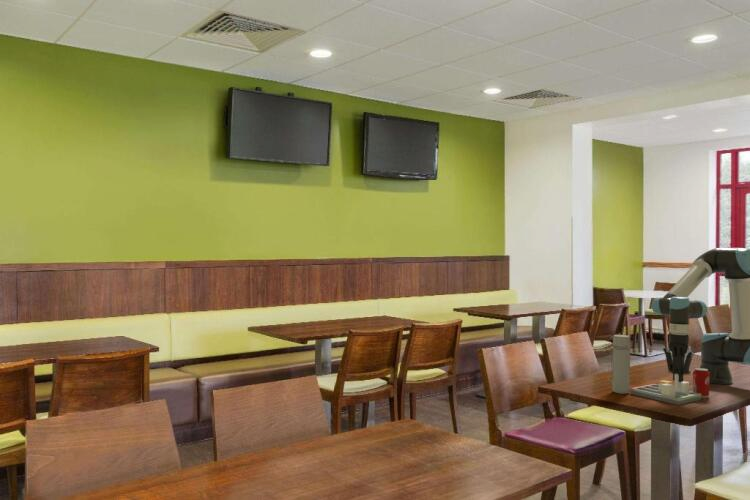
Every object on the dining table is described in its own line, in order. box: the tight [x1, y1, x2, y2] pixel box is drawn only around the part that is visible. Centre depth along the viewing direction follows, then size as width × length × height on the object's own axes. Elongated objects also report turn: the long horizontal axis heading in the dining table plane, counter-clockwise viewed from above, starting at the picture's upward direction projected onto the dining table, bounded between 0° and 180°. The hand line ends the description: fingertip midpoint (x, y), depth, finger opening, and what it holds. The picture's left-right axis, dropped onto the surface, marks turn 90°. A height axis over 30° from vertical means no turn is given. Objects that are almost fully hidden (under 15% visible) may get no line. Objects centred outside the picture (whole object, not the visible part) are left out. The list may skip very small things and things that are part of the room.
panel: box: [630, 383, 702, 406], centre depth 280 cm, size 17×22×2 cm
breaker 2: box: [676, 380, 691, 394], centre depth 279 cm, size 4×4×5 cm
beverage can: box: [692, 367, 710, 399], centre depth 280 cm, size 6×6×12 cm
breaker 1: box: [661, 383, 676, 397], centre depth 273 cm, size 4×4×5 cm
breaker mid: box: [658, 379, 674, 391], centre depth 280 cm, size 4×4×5 cm
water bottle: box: [607, 334, 631, 395], centre depth 287 cm, size 9×8×25 cm
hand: (677, 389), depth 275 cm, fingers closed
